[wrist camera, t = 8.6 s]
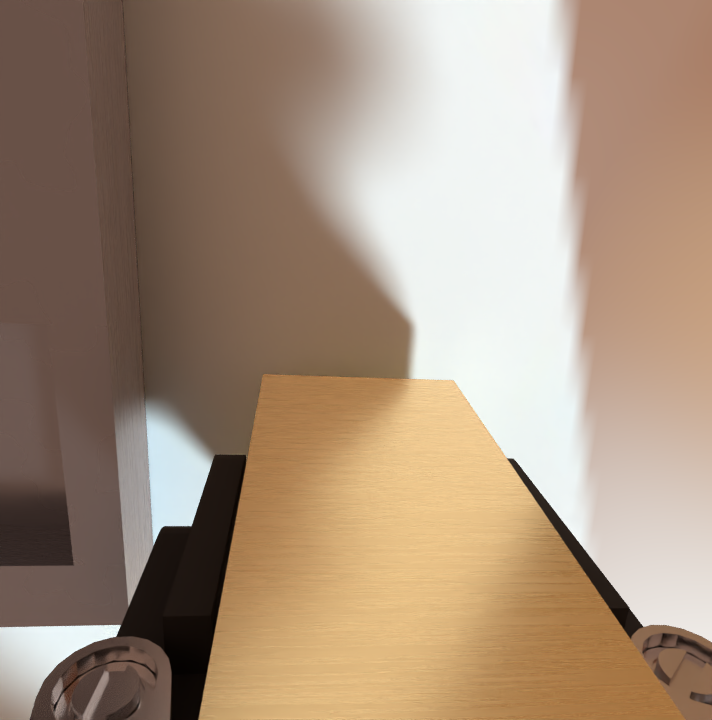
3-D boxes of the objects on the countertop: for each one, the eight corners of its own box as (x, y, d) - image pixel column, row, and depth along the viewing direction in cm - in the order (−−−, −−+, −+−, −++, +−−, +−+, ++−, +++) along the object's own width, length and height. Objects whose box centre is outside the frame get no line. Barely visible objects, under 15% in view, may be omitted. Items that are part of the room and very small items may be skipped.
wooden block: (431, 536, 13) (607, 1052, 5) (260, 536, 12) (197, 1097, 5) (453, 380, 12) (727, 782, 4) (263, 374, 11) (182, 810, 4)
